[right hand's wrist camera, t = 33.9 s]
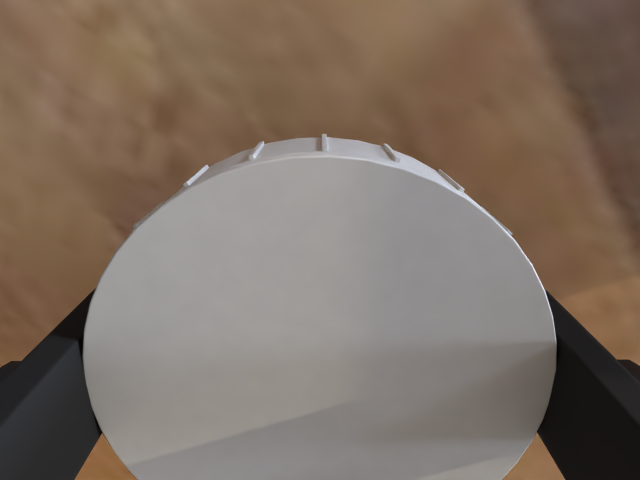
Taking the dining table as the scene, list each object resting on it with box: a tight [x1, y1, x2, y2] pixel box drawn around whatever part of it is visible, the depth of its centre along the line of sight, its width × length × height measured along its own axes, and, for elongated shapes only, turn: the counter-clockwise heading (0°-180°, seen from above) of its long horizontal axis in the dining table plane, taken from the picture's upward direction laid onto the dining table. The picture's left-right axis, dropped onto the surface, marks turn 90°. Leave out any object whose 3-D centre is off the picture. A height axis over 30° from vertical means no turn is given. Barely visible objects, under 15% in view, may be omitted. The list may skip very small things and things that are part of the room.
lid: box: [82, 134, 557, 480], centre depth 11 cm, size 11×11×2 cm
